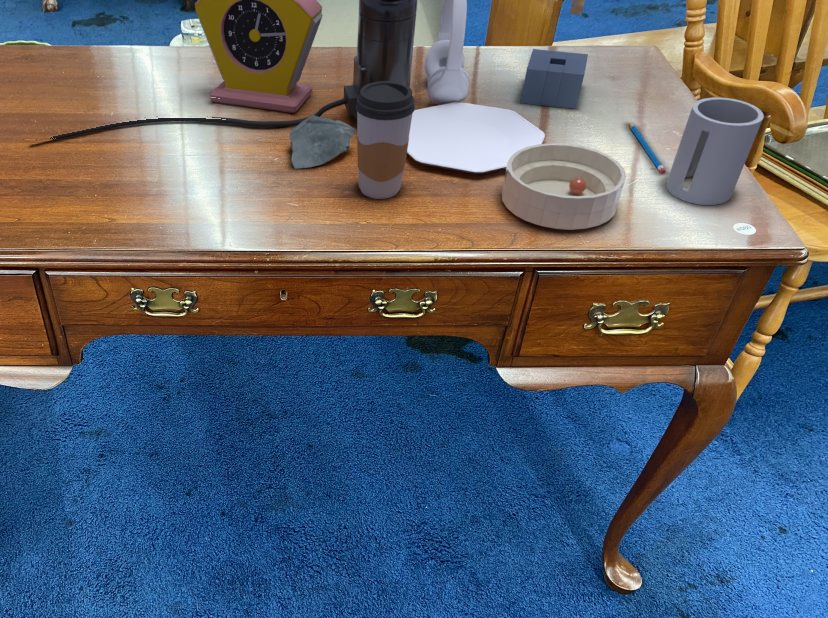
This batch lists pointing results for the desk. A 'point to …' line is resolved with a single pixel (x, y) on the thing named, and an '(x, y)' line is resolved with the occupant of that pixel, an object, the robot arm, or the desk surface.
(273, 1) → the yellow mantel clock
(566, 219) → the bowl
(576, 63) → the stand
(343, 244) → the desk surface
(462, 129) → the plate
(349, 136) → the stone
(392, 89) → the coffee cup
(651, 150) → the pencil
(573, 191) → the bead terracotta
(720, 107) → the cup
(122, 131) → the desk surface
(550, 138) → the desk surface
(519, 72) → the desk surface
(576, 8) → the stick
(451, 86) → the headphones
